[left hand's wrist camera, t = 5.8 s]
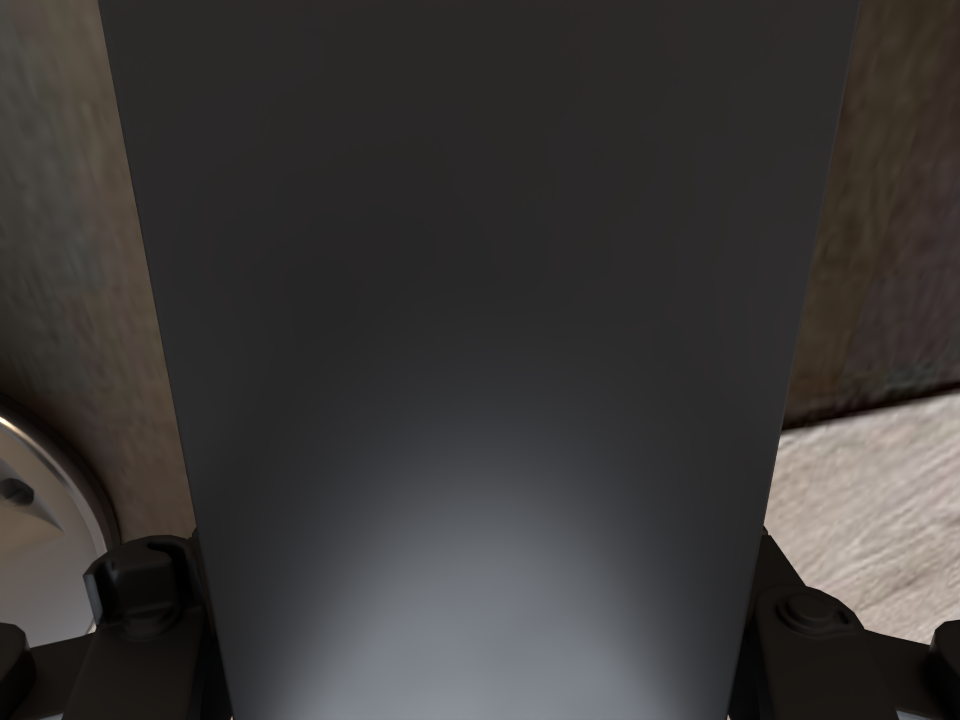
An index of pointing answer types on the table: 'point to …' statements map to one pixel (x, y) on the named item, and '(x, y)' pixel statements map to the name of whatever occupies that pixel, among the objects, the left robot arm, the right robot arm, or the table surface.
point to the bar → (479, 334)
